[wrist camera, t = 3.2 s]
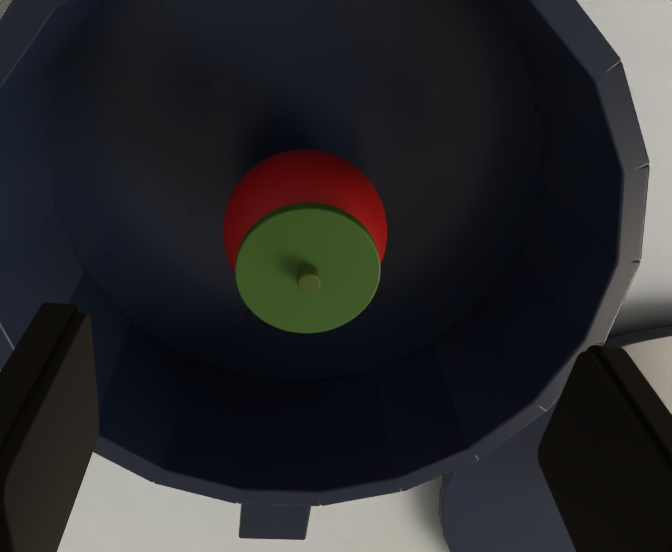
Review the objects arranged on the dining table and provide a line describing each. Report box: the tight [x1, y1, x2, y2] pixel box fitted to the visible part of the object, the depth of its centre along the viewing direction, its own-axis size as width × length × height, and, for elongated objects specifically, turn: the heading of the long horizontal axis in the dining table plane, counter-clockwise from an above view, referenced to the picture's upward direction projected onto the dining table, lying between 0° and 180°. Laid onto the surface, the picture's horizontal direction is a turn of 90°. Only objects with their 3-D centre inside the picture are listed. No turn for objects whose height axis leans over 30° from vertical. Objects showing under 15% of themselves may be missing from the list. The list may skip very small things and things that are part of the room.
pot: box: [0, 0, 649, 540], centre depth 18 cm, size 17×23×6 cm
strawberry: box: [223, 149, 387, 333], centre depth 18 cm, size 5×5×6 cm
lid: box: [439, 326, 672, 552], centre depth 27 cm, size 18×18×7 cm
